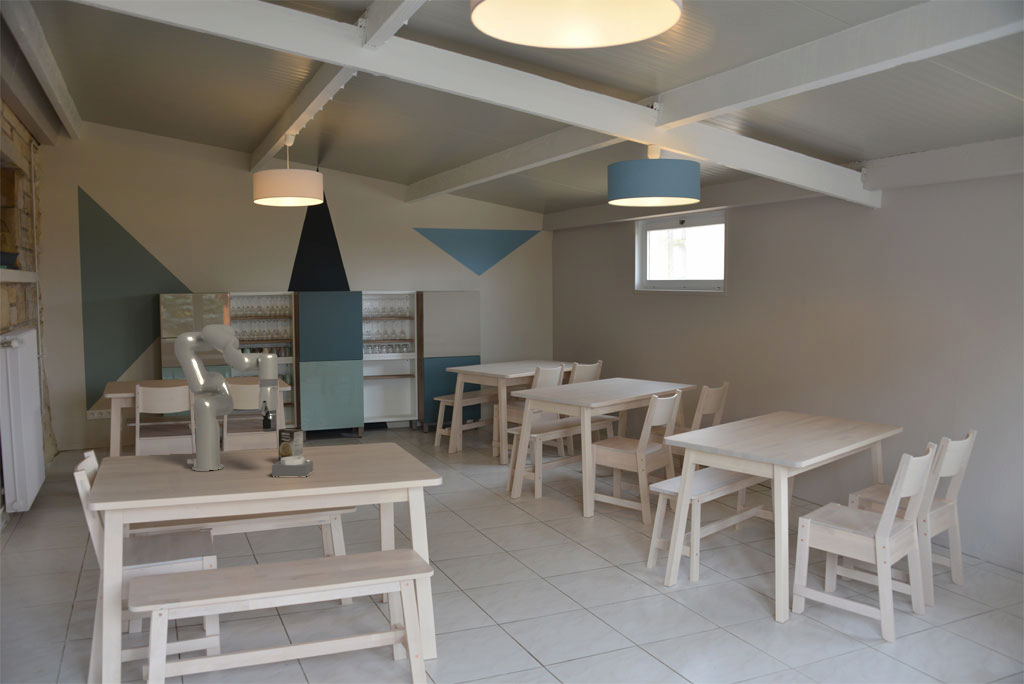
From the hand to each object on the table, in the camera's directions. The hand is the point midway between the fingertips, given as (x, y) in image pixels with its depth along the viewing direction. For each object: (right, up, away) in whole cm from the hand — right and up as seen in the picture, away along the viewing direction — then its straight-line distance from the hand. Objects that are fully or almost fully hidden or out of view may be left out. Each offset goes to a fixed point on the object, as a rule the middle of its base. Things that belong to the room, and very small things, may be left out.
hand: (269, 427), depth 312 cm
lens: (0, -2, 0) cm, 2 cm away
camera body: (+9, -20, +3) cm, 22 cm away
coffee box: (+2, -20, +24) cm, 31 cm away
